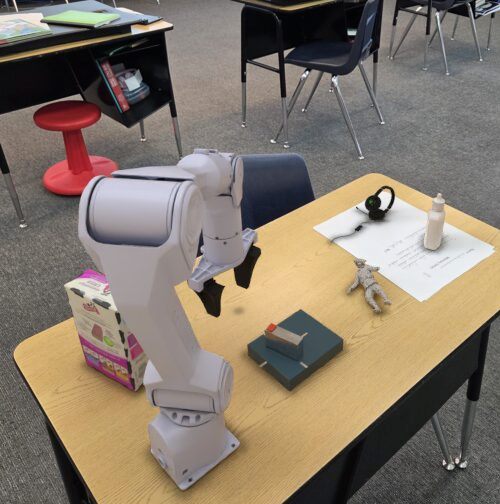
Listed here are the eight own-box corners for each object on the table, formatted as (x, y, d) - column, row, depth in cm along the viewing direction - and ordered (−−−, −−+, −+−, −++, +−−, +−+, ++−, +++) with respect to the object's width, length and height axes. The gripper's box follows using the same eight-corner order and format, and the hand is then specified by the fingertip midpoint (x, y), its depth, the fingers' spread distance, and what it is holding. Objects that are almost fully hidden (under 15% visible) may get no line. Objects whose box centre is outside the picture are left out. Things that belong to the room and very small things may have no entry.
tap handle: (303, 353, 85) (303, 336, 83) (297, 361, 84) (297, 343, 82) (271, 338, 88) (271, 321, 86) (265, 346, 86) (264, 328, 84)
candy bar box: (158, 371, 85) (143, 291, 77) (135, 393, 82) (116, 312, 73) (109, 344, 90) (89, 266, 82) (84, 364, 87) (61, 284, 78)
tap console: (282, 398, 81) (282, 386, 80) (239, 360, 87) (238, 348, 86) (343, 350, 89) (344, 338, 88) (300, 319, 95) (300, 307, 94)
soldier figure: (360, 321, 96) (332, 268, 103) (373, 325, 100) (345, 273, 107) (394, 296, 94) (363, 243, 101) (406, 301, 98) (375, 249, 104)
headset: (321, 249, 123) (379, 193, 129) (343, 263, 118) (402, 204, 124) (312, 229, 118) (372, 173, 125) (334, 242, 113) (396, 183, 120)
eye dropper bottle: (415, 243, 115) (422, 194, 108) (432, 233, 118) (440, 185, 111) (431, 252, 112) (439, 203, 106) (448, 242, 115) (457, 194, 109)
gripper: (230, 199, 86) (235, 267, 93) (166, 245, 75) (178, 318, 82) (267, 211, 82) (270, 280, 90) (206, 261, 72) (215, 335, 79)
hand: (228, 299), depth 86 cm, fingers open, 7 cm apart
